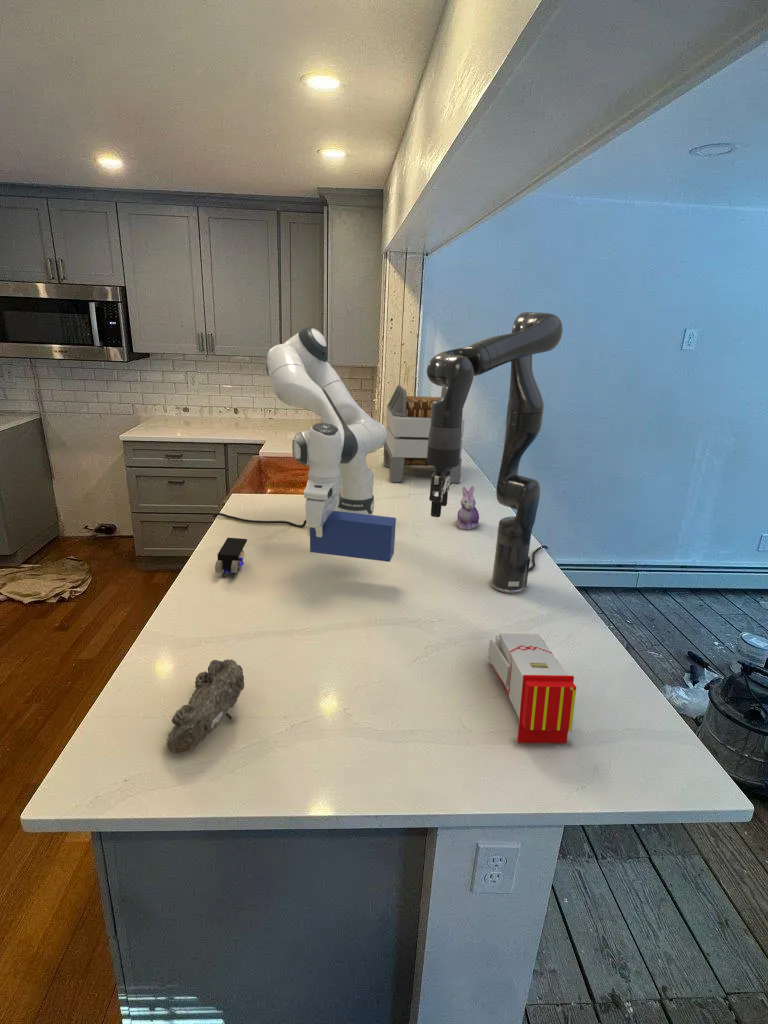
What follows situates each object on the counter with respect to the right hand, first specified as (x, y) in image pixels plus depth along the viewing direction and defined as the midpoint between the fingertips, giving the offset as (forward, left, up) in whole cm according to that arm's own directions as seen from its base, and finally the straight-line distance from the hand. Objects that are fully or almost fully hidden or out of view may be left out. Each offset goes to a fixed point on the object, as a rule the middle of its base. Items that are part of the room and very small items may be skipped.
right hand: (438, 510), depth 136 cm
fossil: (+59, +10, -30) cm, 66 cm away
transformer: (-77, -114, -30) cm, 141 cm away
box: (+8, -27, -20) cm, 35 cm away
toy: (+1, +34, -30) cm, 45 cm away
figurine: (-52, -48, -30) cm, 77 cm away
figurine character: (+35, -51, -30) cm, 68 cm away
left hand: (+14, -33, -15) cm, 39 cm away
